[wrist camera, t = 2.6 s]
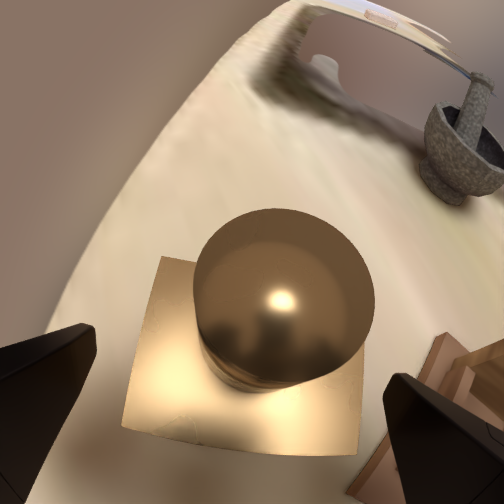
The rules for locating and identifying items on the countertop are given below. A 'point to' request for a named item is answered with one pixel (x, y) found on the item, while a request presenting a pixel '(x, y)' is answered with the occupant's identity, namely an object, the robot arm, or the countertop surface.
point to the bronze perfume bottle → (257, 340)
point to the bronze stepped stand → (452, 387)
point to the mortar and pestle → (462, 147)
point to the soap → (381, 18)
